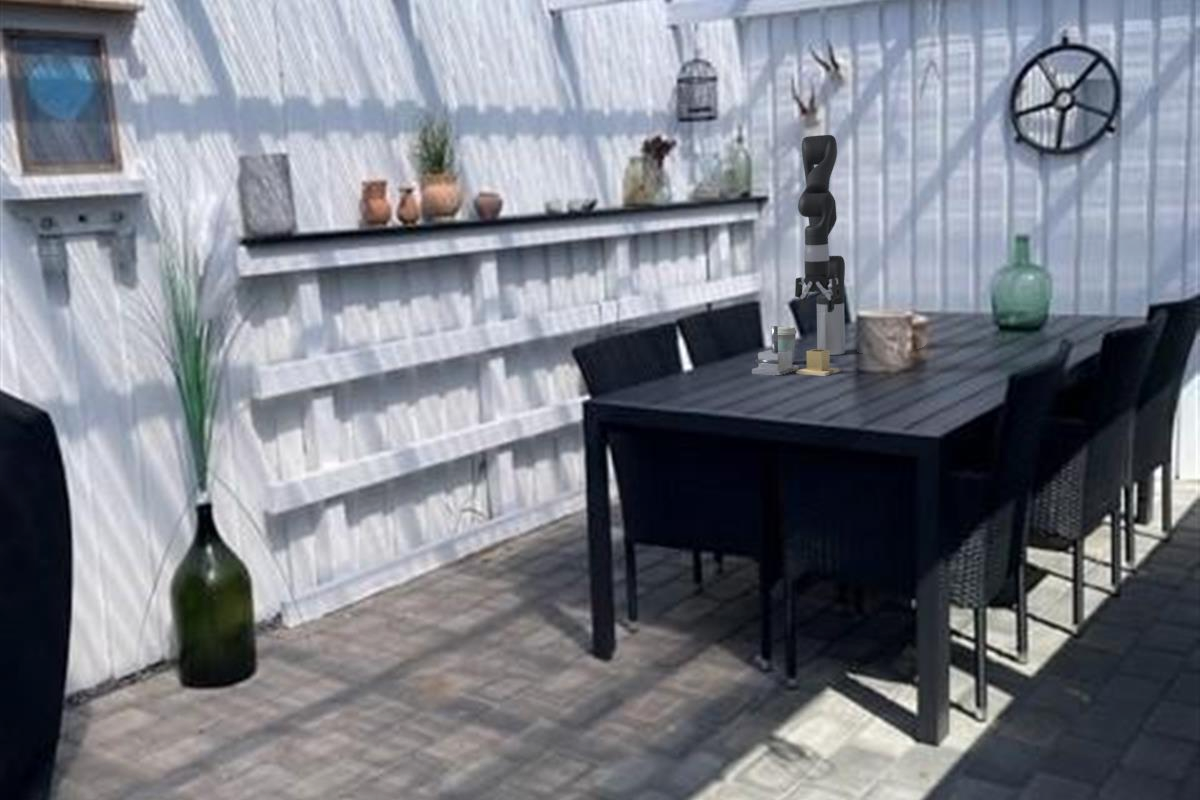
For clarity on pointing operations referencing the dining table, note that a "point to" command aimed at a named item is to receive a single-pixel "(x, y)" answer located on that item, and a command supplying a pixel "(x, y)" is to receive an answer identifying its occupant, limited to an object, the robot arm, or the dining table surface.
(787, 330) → the coffee cup
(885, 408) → the dining table surface
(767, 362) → the block
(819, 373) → the beige pad
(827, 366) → the collar
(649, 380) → the dining table surface
